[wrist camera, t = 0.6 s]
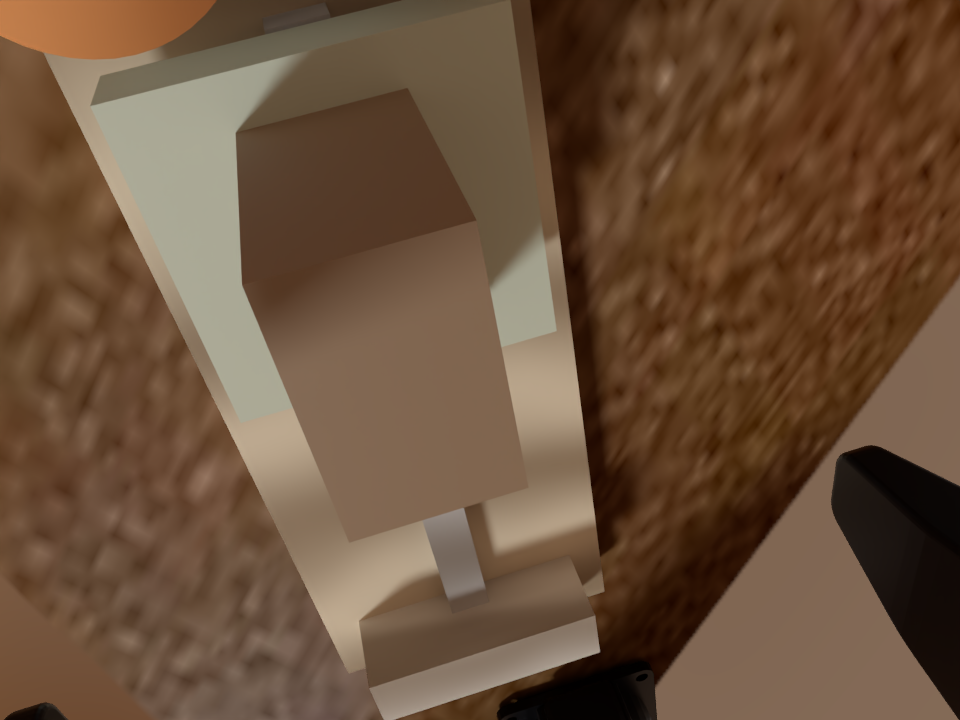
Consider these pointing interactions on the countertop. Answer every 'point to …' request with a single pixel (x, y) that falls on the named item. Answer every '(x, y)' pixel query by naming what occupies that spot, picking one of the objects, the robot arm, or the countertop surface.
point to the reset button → (98, 25)
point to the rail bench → (434, 541)
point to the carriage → (354, 239)
